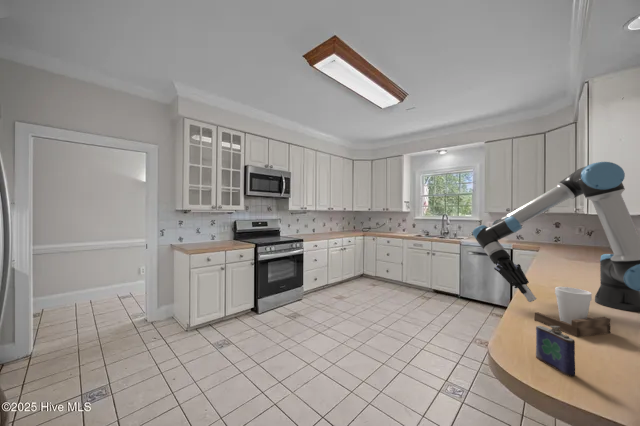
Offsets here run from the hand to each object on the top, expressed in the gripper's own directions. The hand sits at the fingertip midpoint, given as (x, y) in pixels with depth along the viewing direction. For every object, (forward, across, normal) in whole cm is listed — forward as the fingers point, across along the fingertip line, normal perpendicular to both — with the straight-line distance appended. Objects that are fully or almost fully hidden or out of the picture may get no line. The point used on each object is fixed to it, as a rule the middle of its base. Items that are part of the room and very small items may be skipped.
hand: (532, 300), depth 105 cm
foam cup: (+13, -2, +5) cm, 14 cm away
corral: (+12, 0, +5) cm, 13 cm away
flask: (+26, +33, +18) cm, 45 cm away
